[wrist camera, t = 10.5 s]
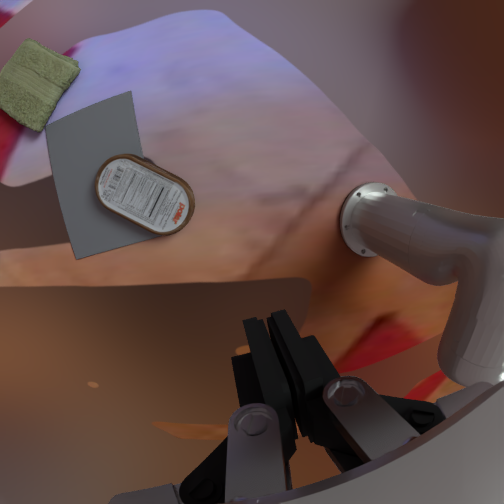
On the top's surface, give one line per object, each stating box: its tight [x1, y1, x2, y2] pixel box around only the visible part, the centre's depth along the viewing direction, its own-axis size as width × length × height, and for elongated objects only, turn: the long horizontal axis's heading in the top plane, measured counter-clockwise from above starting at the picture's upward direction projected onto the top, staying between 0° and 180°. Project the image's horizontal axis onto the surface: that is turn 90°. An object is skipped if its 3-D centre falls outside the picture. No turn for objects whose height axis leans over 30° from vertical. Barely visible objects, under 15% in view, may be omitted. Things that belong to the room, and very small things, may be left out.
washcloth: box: [0, 38, 81, 132], centre depth 26 cm, size 13×18×3 cm
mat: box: [45, 91, 162, 259], centre depth 35 cm, size 15×22×1 cm
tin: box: [95, 154, 195, 235], centre depth 36 cm, size 15×3×8 cm
